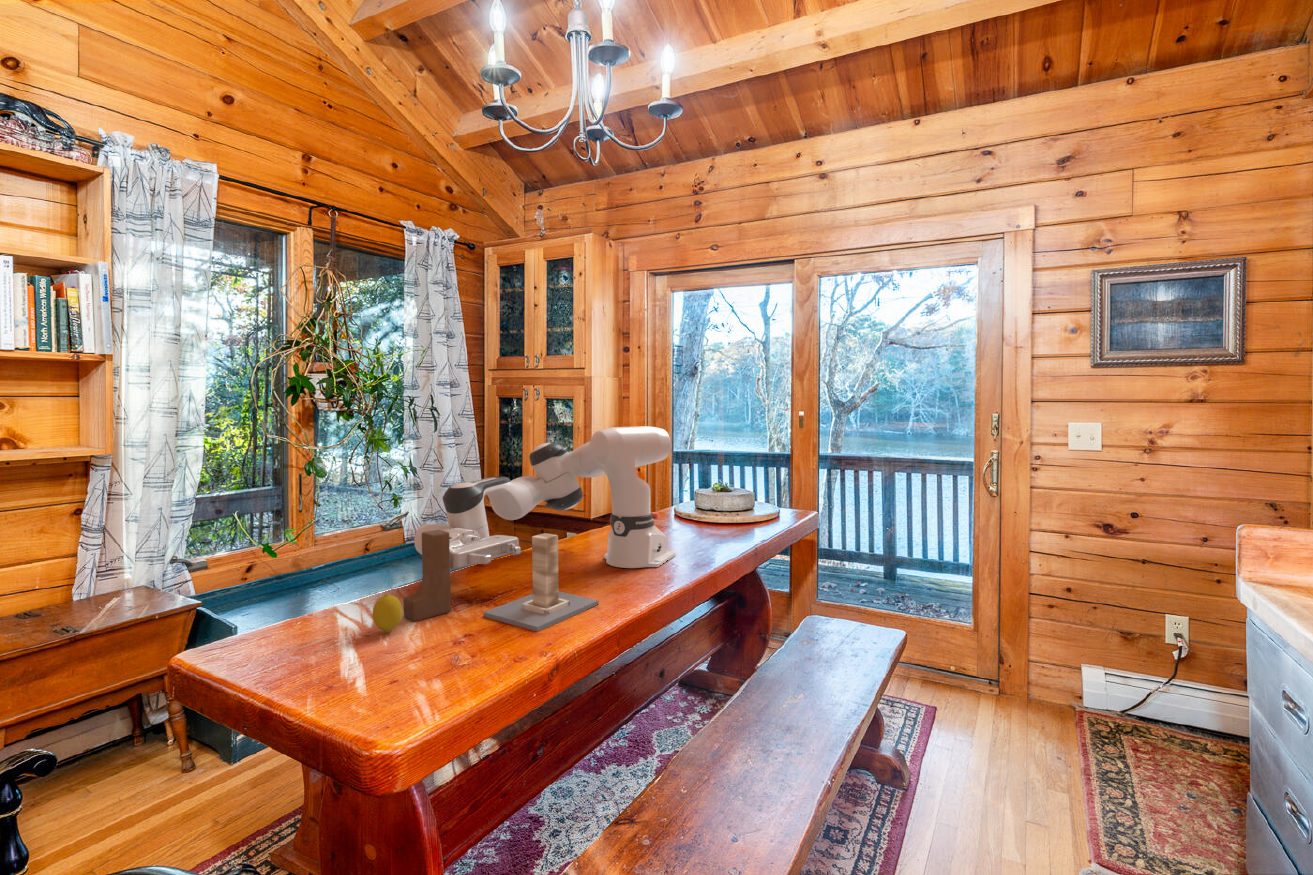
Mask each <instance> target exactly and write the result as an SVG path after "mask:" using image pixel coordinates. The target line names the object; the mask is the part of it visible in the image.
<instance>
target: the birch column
mask: <svg viewBox="0 0 1313 875" xmlns="http://www.w3.org/2000/svg"><path fill="white" fill-rule="evenodd" d="M531 542H532V543H531V544H532V545H531V549H532V550H531V551H532V552H531V554H532V555H531V557H532V559H531V561H532V564H531V565H532V568H531V569H532V594H533V605H534V606H538V607H542V608H546V609H547V608H550V607H552V606H555V605H557V604H559V590H560V589H559V588H560V587H559V535H557V534H553V533H545V532H544V533H540V534H536V535H533V536H531Z"/></svg>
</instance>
